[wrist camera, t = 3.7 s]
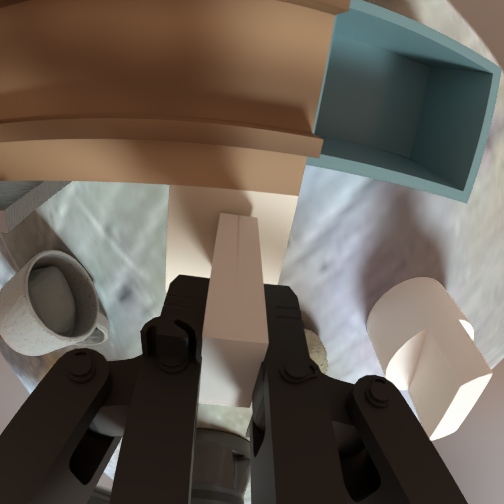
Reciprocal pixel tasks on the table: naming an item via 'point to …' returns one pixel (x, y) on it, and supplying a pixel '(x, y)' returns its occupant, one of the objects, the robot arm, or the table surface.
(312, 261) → the table surface
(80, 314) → the ceramic mug
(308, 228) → the table surface
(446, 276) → the table surface
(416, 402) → the cylinder with rectangular tab
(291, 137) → the wooden ramp track
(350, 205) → the table surface
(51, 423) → the robot arm
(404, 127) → the open box
